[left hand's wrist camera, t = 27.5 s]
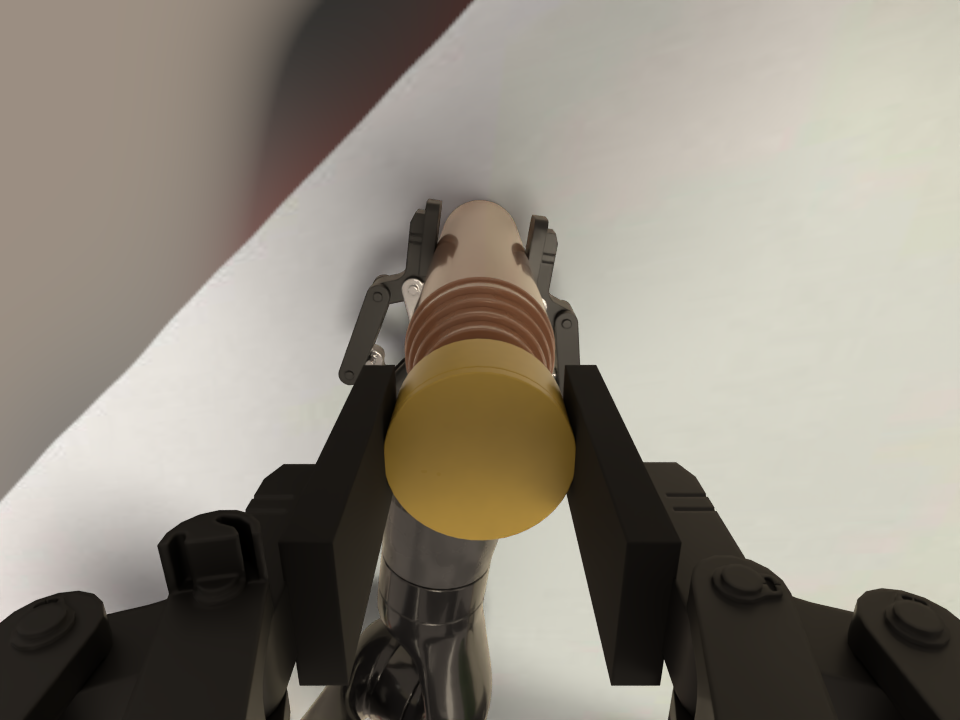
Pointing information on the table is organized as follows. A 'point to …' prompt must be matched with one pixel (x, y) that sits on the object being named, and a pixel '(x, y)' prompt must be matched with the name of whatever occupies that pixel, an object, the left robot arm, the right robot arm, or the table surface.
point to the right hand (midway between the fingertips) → (486, 211)
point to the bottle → (479, 289)
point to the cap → (479, 441)
